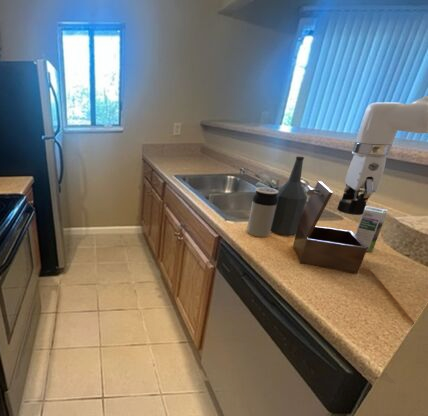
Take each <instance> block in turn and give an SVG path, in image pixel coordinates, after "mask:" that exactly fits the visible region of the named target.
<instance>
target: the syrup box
mask: <svg viewBox="0 0 428 416" xmlns="http://www.w3.org/2000/svg"><path fill="white" fill-rule="evenodd" d="M388 211H389V209H386V208H385V209H384V208H379V207H373V206H370V205H369V206H368V205H366V206H365V209H364V212H363V214H362V215H360V219H359V222H358V225H357V228H356V230H355V233H354V234H355V235H356V237H357V238H358V239H359V240H360V241H361V242H362V243H363V244H364V245H365V246H366V248H367V250H366V252H369V253H373V251H374V248H375V245H376V242H377V241H378V238H379V235H380V232H381V230H382V227H383V225H384V223H385V220H386V217H387V214H388Z"/></svg>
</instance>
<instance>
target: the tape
mask: <svg viewBox="0 0 428 416" xmlns="http://www.w3.org/2000/svg"><path fill="white" fill-rule="evenodd" d="M351 201H352V199H342V198H341V199H340V200H339V201H338V204H337V208H336V210H337V211H338V212H340V213H343V214H347V215H353V216H362V214H363V213H362V214H353V213H349V212H348V210H349V207H350V204H351ZM365 206H367V204H366V205H365ZM364 209H365V208H364ZM363 212H364V210H363Z"/></svg>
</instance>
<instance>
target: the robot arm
mask: <svg viewBox="0 0 428 416" xmlns="http://www.w3.org/2000/svg"><path fill="white" fill-rule="evenodd" d="M398 131H399V132H408V133H414V134H428V95H426V96H423V97H421V98H419V99H417V100H415V101H412V102H410V103H402V102H391V101H390V102H373V103H372V102H371V103H370V104H369V105H368V106H367V107H366V108H365V111H364V114H363V116H362V120H361V122H360V126H359V129H358V131H357V132H358V133H357V136H356V139H355V142H354V144H353V149H352V151H351V154H352V155H353V156H352V159H351V161H350V164H349V167H348V169H347V172H346V175H345V179H344V183H345V188H344V190H343V194H342V197H341V199H352V201H351V204H350V207H349V210H348V212H349V213H353V214H362V213H363V210H364V208H365V205H366V206H367V203H368V201H369V198H370V197H371V196H372V195H373V194H374V193H376V192H378V190H379V188H380V185H381V182H382V179H383V174H384V171H385V166H386V162H387V158H388V157H389V155H390V152H391V149H392V146H393V144H394V141H395V138H396V136H397V133H398Z"/></svg>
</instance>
